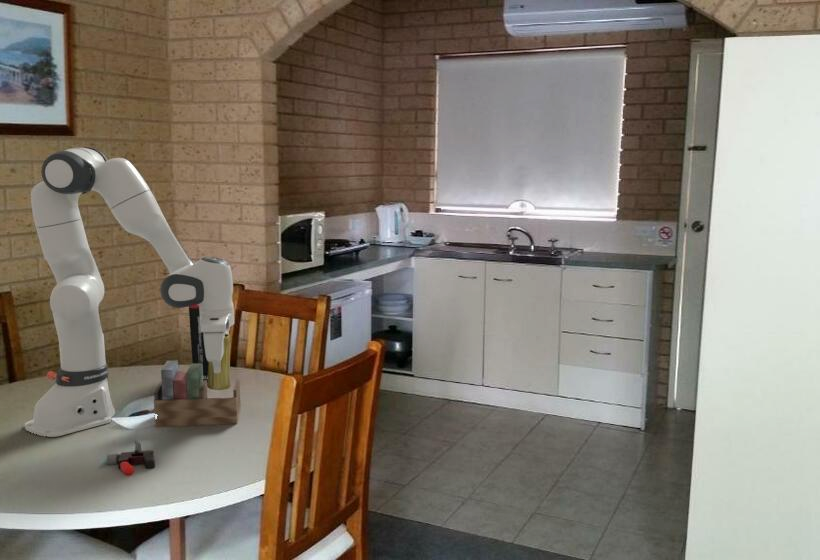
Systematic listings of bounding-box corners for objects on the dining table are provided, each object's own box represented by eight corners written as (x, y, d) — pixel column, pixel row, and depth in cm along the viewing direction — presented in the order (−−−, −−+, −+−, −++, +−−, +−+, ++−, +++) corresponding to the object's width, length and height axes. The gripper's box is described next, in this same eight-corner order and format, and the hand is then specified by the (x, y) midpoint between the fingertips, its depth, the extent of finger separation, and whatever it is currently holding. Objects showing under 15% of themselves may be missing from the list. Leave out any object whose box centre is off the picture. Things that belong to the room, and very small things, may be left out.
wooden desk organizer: (240, 409, 211) (239, 357, 209) (237, 423, 201) (235, 369, 198) (163, 412, 209) (160, 359, 206) (155, 426, 198) (152, 371, 195)
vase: (228, 382, 208) (228, 331, 205) (232, 389, 202) (233, 337, 200) (205, 384, 205) (206, 332, 203) (209, 391, 200) (210, 338, 197)
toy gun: (104, 462, 177) (102, 442, 176) (157, 457, 179) (156, 438, 179) (96, 479, 168) (95, 459, 167) (153, 475, 170) (152, 454, 169)
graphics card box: (213, 384, 233) (210, 297, 228) (191, 384, 233) (187, 297, 228) (227, 368, 250) (224, 287, 245) (206, 367, 250) (203, 286, 245)
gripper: (209, 310, 210) (211, 358, 213) (199, 327, 190) (201, 380, 193) (233, 309, 211) (234, 357, 214) (225, 327, 191) (227, 379, 194)
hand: (219, 368), depth 203 cm, fingers closed on vase, 5 cm apart
